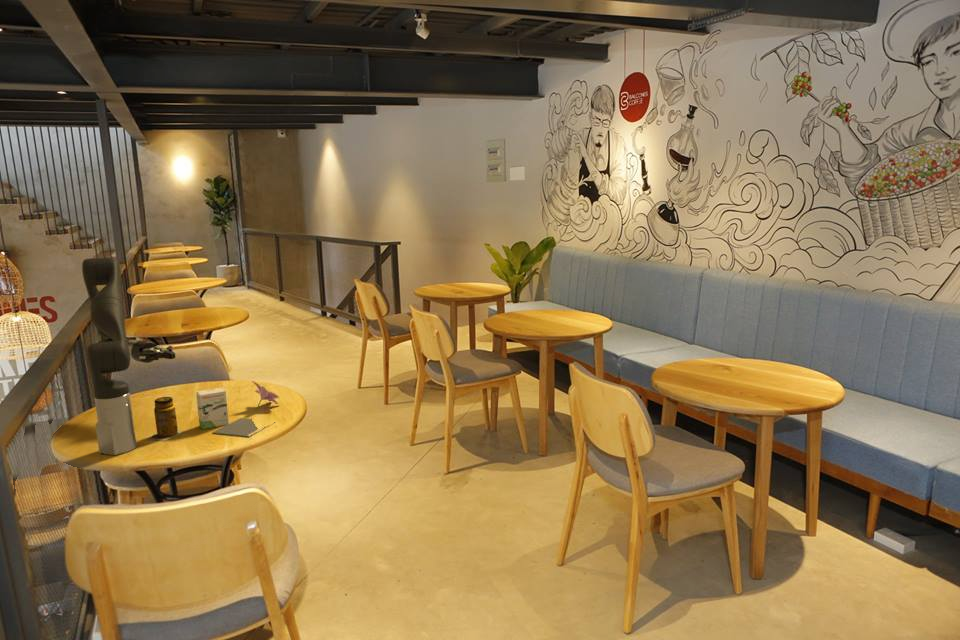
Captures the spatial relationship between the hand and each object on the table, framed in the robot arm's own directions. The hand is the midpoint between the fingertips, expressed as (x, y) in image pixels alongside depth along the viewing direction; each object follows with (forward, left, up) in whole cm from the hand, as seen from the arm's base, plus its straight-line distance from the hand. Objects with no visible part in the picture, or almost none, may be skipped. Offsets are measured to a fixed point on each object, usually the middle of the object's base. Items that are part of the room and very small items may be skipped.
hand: (173, 355), depth 222 cm
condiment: (-15, -7, -22) cm, 28 cm away
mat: (-3, -28, -22) cm, 36 cm away
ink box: (-3, -16, -22) cm, 28 cm away
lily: (+17, -22, -22) cm, 36 cm away
